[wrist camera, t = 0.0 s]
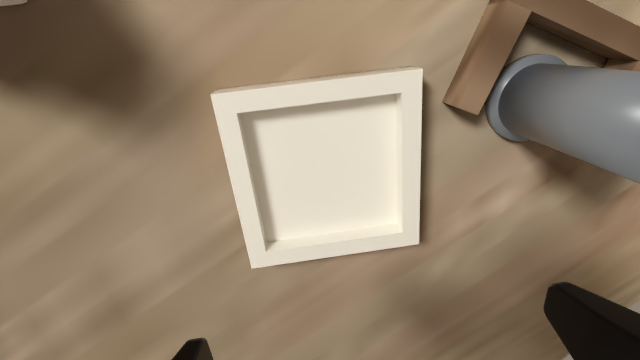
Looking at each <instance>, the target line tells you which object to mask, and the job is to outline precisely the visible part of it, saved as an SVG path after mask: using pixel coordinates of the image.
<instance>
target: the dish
mask: <svg viewBox="0 0 640 360" xmlns="http://www.w3.org/2000/svg"><path fill="white" fill-rule="evenodd" d="M422 78H423V69H422V68H417V67H412V66H407V67H399V68H391V69H382V70H374V71H366V72H358V73H349V74H341V75H333V76H325V77H316V78H308V79H300V80H292V81H283V82H275V83H267V84H259V85H251V86H242V87H234V88H226V89H218V90H216V91H215V92H213V93H212V94H210V95H211V99H212V103H213V107H214V112H215V116H216V120H217V124H218V128H219V133H220V137H221V141H222V145H223V150H224V154H225V158H226V162H227V166H228V171H229V175H230V179H231V183H232V187H233V192H234V196H235V200H236V204H237V209H238V213H239V217H240V221H241V225H242V230H243V234H244V238H245V242H246V246H247V251H248V255H249V259H250V263H251V268H259V267H266V266H273V265H279V264H286V263H293V262H300V261H307V260H314V259H320V258H327V257H334V256H341V255H348V254H355V253H361V252H368V251H375V250H382V249H389V248H396V247H402V246H409V245H416V244H419V222H420V174H421V126H422Z"/></svg>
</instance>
